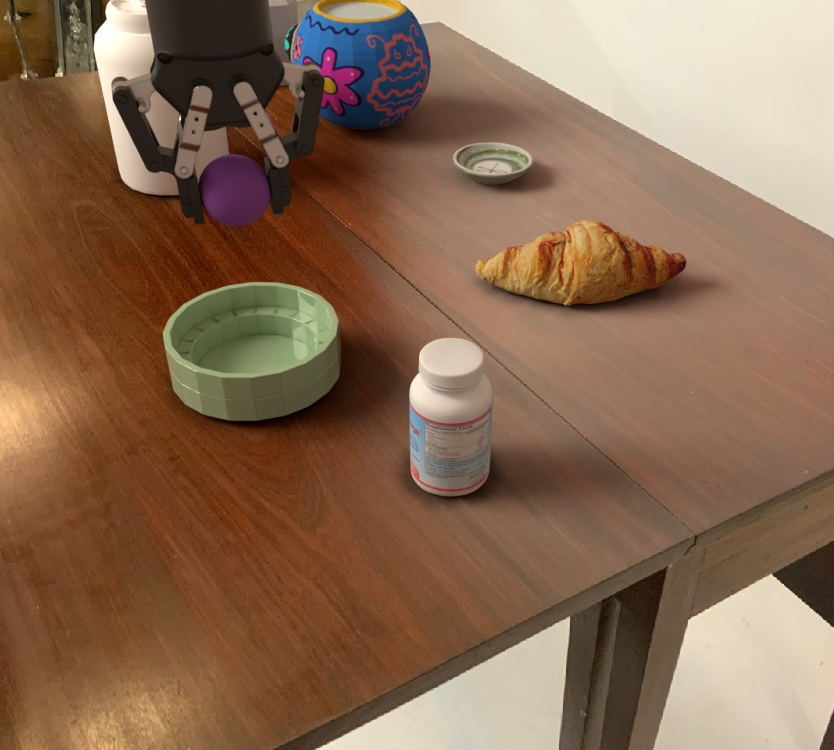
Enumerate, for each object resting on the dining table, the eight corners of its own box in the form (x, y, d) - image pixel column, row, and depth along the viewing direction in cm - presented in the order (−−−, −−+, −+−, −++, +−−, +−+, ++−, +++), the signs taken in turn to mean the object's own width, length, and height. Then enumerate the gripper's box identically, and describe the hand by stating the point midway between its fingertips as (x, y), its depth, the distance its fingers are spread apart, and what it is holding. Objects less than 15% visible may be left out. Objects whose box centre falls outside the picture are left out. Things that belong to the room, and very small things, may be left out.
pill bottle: (419, 443, 78) (417, 326, 71) (494, 452, 77) (500, 336, 71) (402, 495, 73) (399, 375, 66) (482, 505, 73) (487, 385, 66)
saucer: (534, 162, 122) (536, 144, 120) (529, 196, 114) (530, 177, 112) (458, 156, 122) (458, 137, 121) (447, 190, 114) (447, 171, 113)
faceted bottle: (304, 72, 143) (292, -90, 130) (300, 88, 138) (286, -79, 125) (261, 71, 143) (243, -91, 130) (255, 87, 138) (236, -81, 125)
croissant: (477, 329, 97) (481, 289, 90) (470, 244, 101) (473, 199, 94) (684, 321, 99) (704, 280, 92) (669, 237, 103) (687, 193, 96)
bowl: (181, 441, 77) (171, 391, 74) (166, 342, 87) (156, 295, 84) (357, 408, 81) (355, 359, 78) (322, 318, 92) (319, 272, 89)
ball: (207, 243, 68) (196, 177, 65) (200, 210, 71) (189, 147, 68) (279, 233, 69) (272, 168, 66) (269, 202, 73) (261, 139, 70)
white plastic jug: (228, 148, 121) (205, -19, 109) (234, 193, 111) (210, 15, 99) (122, 156, 118) (87, -15, 106) (119, 203, 108) (80, 20, 96)
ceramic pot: (372, 87, 139) (367, -22, 130) (457, 125, 130) (459, 10, 121) (270, 118, 129) (258, 2, 120) (355, 161, 120) (348, 38, 111)
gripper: (79, -9, 55) (137, 254, 65) (330, -23, 59) (348, 226, 69) (78, -43, 61) (131, 204, 71) (308, -55, 65) (327, 180, 75)
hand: (238, 213), depth 70 cm, fingers closed on ball, 5 cm apart
